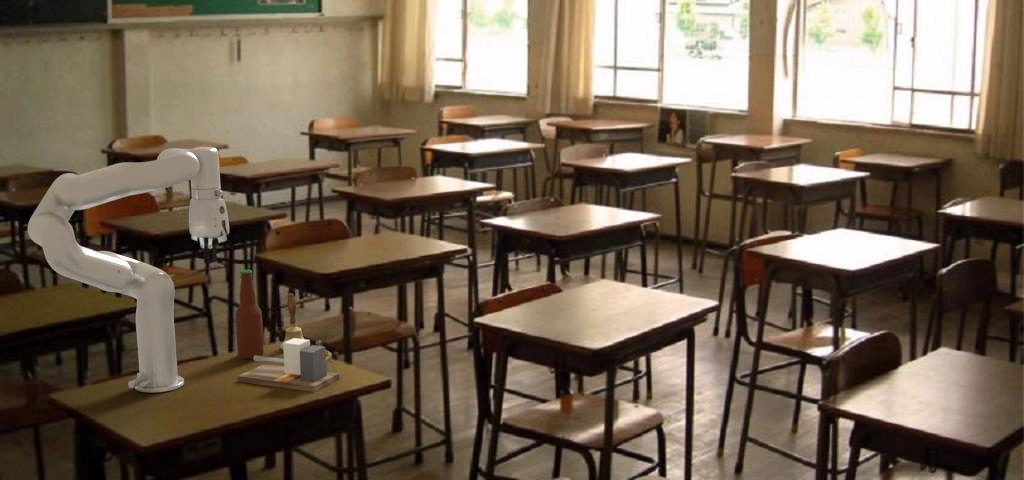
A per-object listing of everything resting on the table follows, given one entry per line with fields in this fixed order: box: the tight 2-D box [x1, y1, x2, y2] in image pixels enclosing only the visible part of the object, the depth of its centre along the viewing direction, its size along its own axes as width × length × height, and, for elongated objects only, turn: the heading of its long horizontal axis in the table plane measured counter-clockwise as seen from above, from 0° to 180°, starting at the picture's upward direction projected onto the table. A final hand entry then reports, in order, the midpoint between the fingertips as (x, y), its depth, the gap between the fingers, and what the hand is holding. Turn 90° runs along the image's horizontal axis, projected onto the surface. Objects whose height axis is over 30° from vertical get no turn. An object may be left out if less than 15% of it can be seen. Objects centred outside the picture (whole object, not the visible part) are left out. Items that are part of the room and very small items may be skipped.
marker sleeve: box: [282, 338, 311, 375], centre depth 329 cm, size 5×5×8 cm
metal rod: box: [253, 355, 284, 365], centre depth 332 cm, size 1×16×1 cm, turn 66°
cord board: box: [237, 363, 340, 393], centre depth 332 cm, size 12×24×2 cm, turn 66°
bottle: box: [234, 269, 265, 360], centre depth 352 cm, size 7×7×25 cm
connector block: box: [300, 344, 328, 382], centre depth 327 cm, size 6×4×8 cm, turn 156°
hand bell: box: [279, 292, 305, 351], centre depth 362 cm, size 8×8×16 cm
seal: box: [315, 339, 333, 364], centre depth 351 cm, size 9×5×15 cm
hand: (210, 262), depth 332 cm, fingers closed
